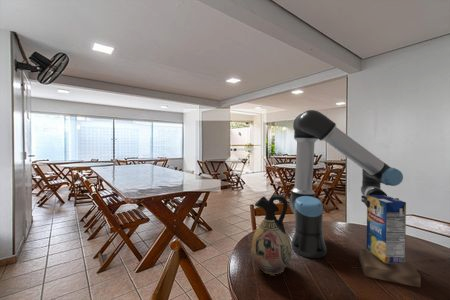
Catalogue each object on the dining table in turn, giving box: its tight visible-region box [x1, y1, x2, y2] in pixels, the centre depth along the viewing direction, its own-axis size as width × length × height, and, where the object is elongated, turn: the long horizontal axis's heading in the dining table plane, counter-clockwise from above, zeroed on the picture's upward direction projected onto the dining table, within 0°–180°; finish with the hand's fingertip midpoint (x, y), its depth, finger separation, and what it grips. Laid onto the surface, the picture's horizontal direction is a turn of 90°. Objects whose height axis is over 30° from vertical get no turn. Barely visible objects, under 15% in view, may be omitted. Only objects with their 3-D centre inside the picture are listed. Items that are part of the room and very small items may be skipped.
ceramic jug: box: [250, 194, 292, 275], centre depth 84 cm, size 17×15×30 cm
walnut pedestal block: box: [358, 247, 422, 288], centre depth 83 cm, size 16×14×4 cm
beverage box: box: [366, 195, 407, 263], centre depth 82 cm, size 7×11×22 cm, turn 178°
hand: (391, 211), depth 77 cm, fingers closed on beverage box, 5 cm apart
